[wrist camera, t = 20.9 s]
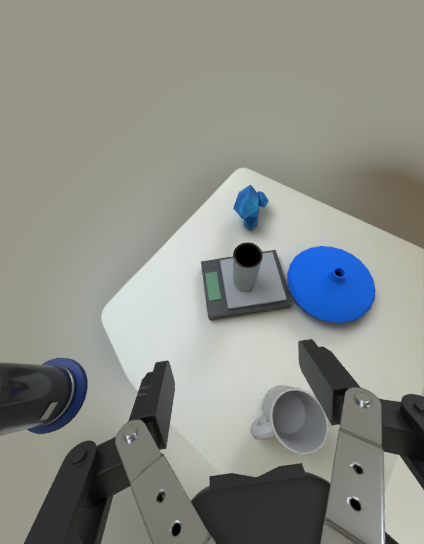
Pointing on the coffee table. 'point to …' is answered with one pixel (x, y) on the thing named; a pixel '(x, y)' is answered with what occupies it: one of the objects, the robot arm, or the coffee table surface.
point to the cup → (292, 420)
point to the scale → (233, 301)
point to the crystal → (250, 205)
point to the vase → (331, 284)
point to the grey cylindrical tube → (246, 265)
